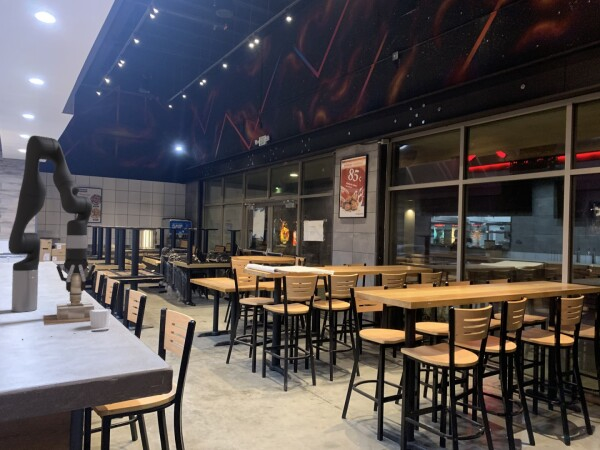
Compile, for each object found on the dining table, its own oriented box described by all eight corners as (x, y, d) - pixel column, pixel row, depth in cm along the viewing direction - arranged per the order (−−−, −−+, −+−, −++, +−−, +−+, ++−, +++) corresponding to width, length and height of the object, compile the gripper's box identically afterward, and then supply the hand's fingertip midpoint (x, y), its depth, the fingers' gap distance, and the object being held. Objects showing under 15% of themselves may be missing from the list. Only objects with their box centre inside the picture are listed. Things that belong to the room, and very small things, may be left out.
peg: (68, 304, 167) (69, 273, 167) (80, 303, 169) (81, 273, 169) (69, 305, 163) (70, 274, 163) (81, 305, 165) (82, 274, 165)
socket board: (43, 319, 165) (43, 305, 165) (91, 315, 174) (92, 301, 174) (44, 329, 148) (44, 313, 148) (97, 324, 157) (98, 309, 157)
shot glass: (114, 328, 152) (115, 308, 152) (103, 333, 145) (104, 312, 145) (96, 327, 152) (96, 308, 152) (84, 332, 146) (85, 311, 146)
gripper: (95, 246, 173) (94, 289, 173) (55, 246, 166) (54, 291, 165) (97, 247, 167) (96, 291, 167) (56, 247, 159) (54, 293, 159)
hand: (75, 291), depth 166 cm, fingers closed on peg, 4 cm apart
